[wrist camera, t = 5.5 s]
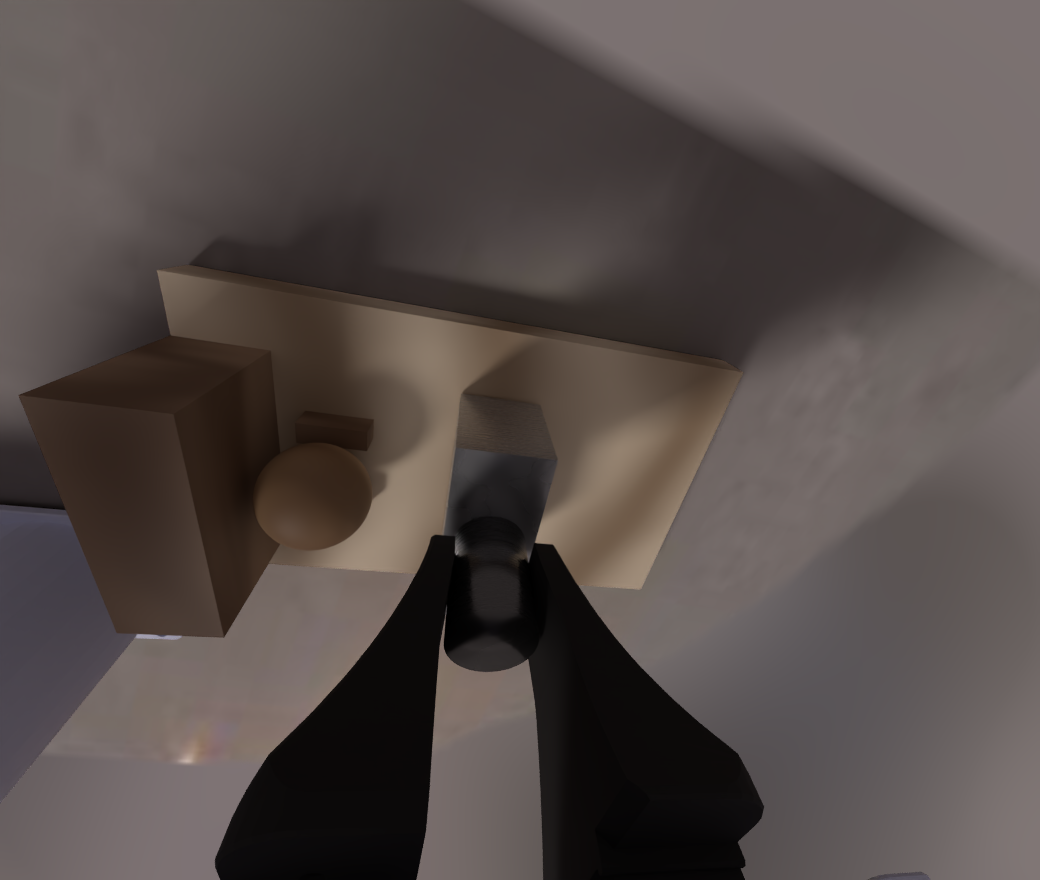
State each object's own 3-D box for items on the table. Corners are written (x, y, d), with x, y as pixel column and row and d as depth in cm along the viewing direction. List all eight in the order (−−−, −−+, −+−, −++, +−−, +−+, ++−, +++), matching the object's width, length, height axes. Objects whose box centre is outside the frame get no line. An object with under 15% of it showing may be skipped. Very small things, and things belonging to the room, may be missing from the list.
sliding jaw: (441, 537, 18) (420, 718, 12) (460, 393, 15) (446, 532, 8) (507, 542, 19) (522, 719, 12) (540, 404, 15) (585, 544, 9)
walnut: (285, 500, 16) (237, 570, 13) (277, 417, 14) (219, 475, 11) (380, 509, 16) (357, 578, 13) (383, 431, 15) (357, 489, 12)
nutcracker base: (235, 536, 19) (132, 672, 13) (187, 264, 14) (-21, 301, 8) (631, 567, 22) (682, 686, 17) (722, 360, 17) (845, 433, 11)
